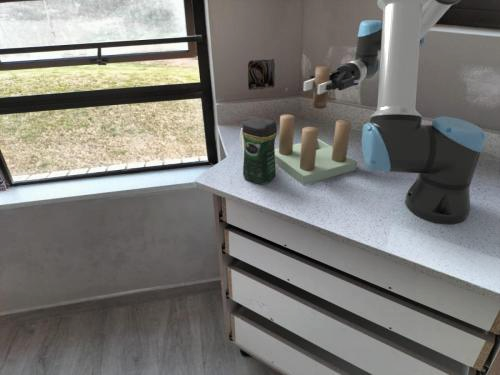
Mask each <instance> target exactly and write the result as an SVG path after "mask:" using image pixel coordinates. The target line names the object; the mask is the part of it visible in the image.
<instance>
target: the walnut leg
mask: <svg viewBox="0 0 500 375" xmlns="http://www.w3.org/2000/svg"><path fill="white" fill-rule="evenodd" d="M314 72H315V73H314V74H315V82H314V88H313V94H312V95H313V97H312V108H314V109H319V110H321V109H322V110H323V109H326V108H327V105H328V96H329V91H327V92H324V93H322V94H317V91H318V85H319V84H322V83H324V82H327V81H329V78H330V72H331V67H330V66H325V65H320V66H319V65H318V66H316V67H315V71H314Z"/></svg>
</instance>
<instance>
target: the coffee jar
mask: <svg viewBox="0 0 500 375" xmlns="http://www.w3.org/2000/svg"><path fill="white" fill-rule="evenodd" d="M276 122H277V121H275V120H270V119H267V118H266V119H265V118H261V117H257V116H255V115H252V116H249V117H247V118H244V120H243V121H242V134H243V138H244V163H243V162H242V164H243V166H242V176H243V177H244V179H246V180H248V181H250V182H253V183H256V184H260V185H265V184H268V183H271V182H272V181H274V180H275V179H276V178H277V177H276V176H277V167H276V166H277V165H276V164H275V149H276V148H275V145H276V144H275V143H276V137H277V135H278V128H277V123H276Z"/></svg>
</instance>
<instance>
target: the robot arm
mask: <svg viewBox="0 0 500 375" xmlns="http://www.w3.org/2000/svg"><path fill="white" fill-rule="evenodd" d="M461 1H462V0H377V2H376V5H377V7H378V8H379V9H380V10H381V11H383V12H382V20H375V19H366V20H363V21H361V22H360V23H359V28H358V33H357V40H356V49H355V57H354V60H351V61H348V62H345V63H342V64H340V65H339V66H338V67H337V68H336V70H334V71H330V78H329V81H327V82H324V83H322V84H319V85H318V91H317V94H322V93H324V92H327V91H328V92H329V91H331V90H333V91H334V90H337V91H343V90H345V89H348V88H351V87H354V86H358V85H359V83H360V82H363V81H365V80H369V79H372V78H373V77H374V76H376V75H377V74H379V75H378V76H379V77H378V95H377V107H376V111H375V112H373V113H372V114H371V115H370V119H369V122H366V123H365V124H364V125H363V127H362V130H361V131H362V135H361V149H362V155H363V157H362V158H363V161H364V164H365V165H366V167H367V168H368V169H369V170H370V171H374V172H384V173H388V174H389V173H402V174H418V176H417V178H416V179H415V181H414V182H413V184H412V185H411V186H410V187H409V189H408V190H407V192H406V195H405V199H404V200H405V201H404V203H405V207H406V208H407V209H408V210H409V211H410V212H412V214H413V215H415V216H417V217H419V218H421V219H423V220H426V221H430V222H432V223H435V224H436V223H438V224H445V225H452V224H453V225H454V224H459V223H462V222H464V221H465V220H467V218H468V217H469V214H470V211H471V197H470V196H471V195H470V186H471V183H472V181H473V178H474V174H475V172H476V169H477V167H478V163H479V160H480V158H481V155H482V153H483V151H484V147H485V144H486V143H485V141H486V138H487V137H486V133H485V131H484V130H483V129H482V128H481V127H480V126H478V125H476V124H475V123H472V122H469V121H466V120H464V119H460V118H456V117H451V116H437V117H435V118H434V119H432V121H431V124H422V118H423V115H421V114H420V112H418V111H417V109H416V106H417V105H416V101H417V88H418V87H417V86H418V74H419V73H418V72H419V57H420V51H419V47H420V46H422V44H423V43H424V36H425V35H426V34H427V32H428V33H429V32H430V30H431V29H432V28H433V27H434V26H435V25H436V24H437V22H438V21H439V20H440V19H441V18H442V17H443V16H444V14H446V12H447V11H448V10H449V9H450V7H451V6H453V5H455V4H458V3H459V2H461ZM379 52H380V58H378V56H379ZM314 82H315V73H313V74H312V75H309V80H305V81H303V89H302V91H303V92H306V91H309V90H312V89H313V90H314Z"/></svg>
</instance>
